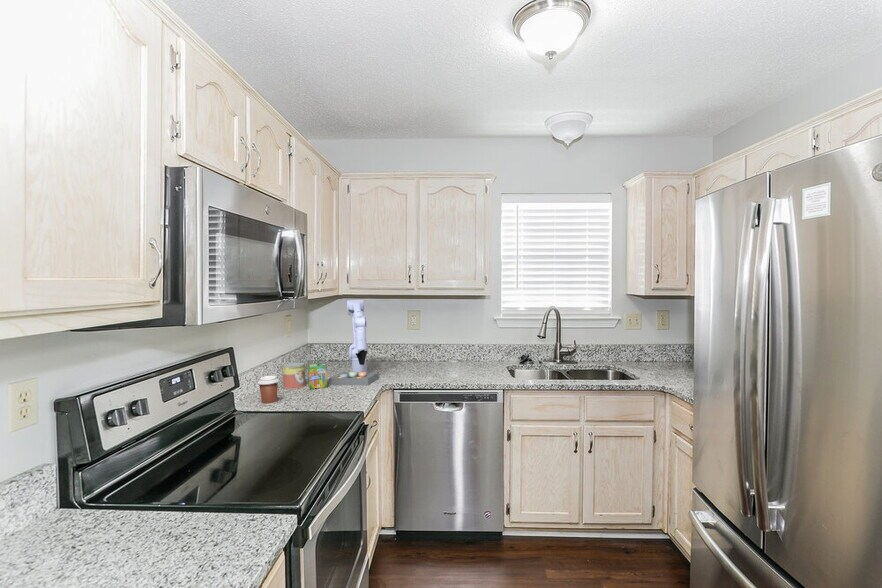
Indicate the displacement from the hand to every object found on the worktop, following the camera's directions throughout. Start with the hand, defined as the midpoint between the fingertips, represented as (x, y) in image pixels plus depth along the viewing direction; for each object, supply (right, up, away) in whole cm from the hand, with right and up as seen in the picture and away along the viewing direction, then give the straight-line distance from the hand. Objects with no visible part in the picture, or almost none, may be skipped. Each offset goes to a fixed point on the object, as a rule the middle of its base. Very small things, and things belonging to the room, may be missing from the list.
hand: (361, 364), depth 236 cm
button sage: (-5, -7, +1) cm, 9 cm away
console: (-5, -10, +3) cm, 11 cm away
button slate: (-10, -9, +3) cm, 14 cm away
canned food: (-35, -11, -4) cm, 37 cm away
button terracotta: (0, -7, 0) cm, 7 cm away
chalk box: (-22, -11, -6) cm, 25 cm away
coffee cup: (-36, -12, -36) cm, 52 cm away
